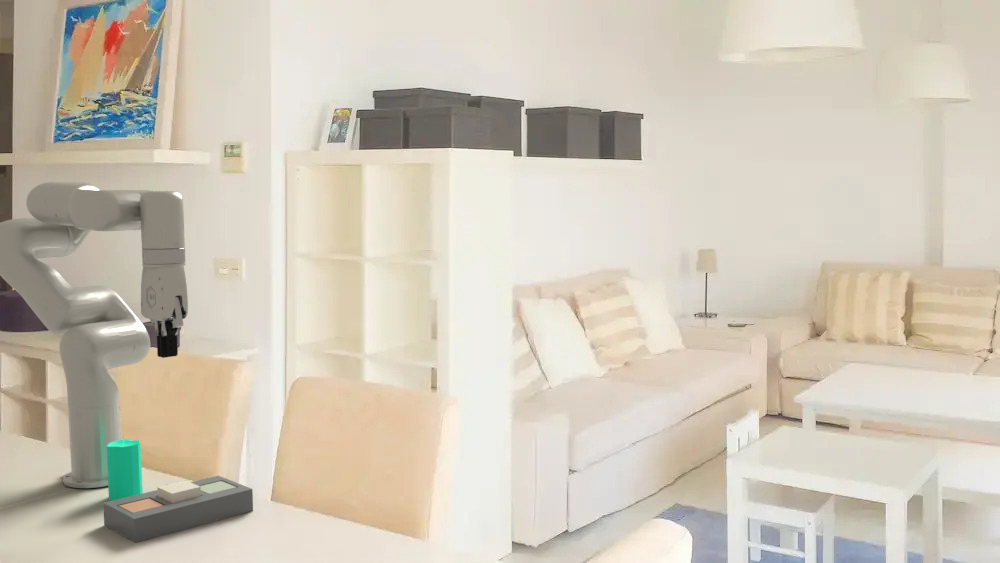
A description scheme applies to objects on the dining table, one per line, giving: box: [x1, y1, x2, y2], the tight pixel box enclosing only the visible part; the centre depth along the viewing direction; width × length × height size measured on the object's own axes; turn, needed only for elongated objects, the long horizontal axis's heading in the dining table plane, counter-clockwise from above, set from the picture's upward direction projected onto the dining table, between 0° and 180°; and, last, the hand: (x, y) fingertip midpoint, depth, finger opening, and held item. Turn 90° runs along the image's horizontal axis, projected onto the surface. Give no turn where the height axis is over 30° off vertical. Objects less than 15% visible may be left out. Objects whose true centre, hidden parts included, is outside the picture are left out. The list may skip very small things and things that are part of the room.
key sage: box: [200, 481, 236, 494], centre depth 175 cm, size 5×5×3 cm
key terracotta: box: [119, 499, 163, 513], centre depth 165 cm, size 5×5×3 cm
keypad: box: [102, 475, 254, 543], centre depth 170 cm, size 12×22×4 cm, turn 136°
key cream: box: [156, 480, 201, 503], centre depth 170 cm, size 5×5×3 cm
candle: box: [106, 434, 144, 501], centre depth 182 cm, size 6×6×12 cm
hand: (167, 356), depth 179 cm, fingers closed
